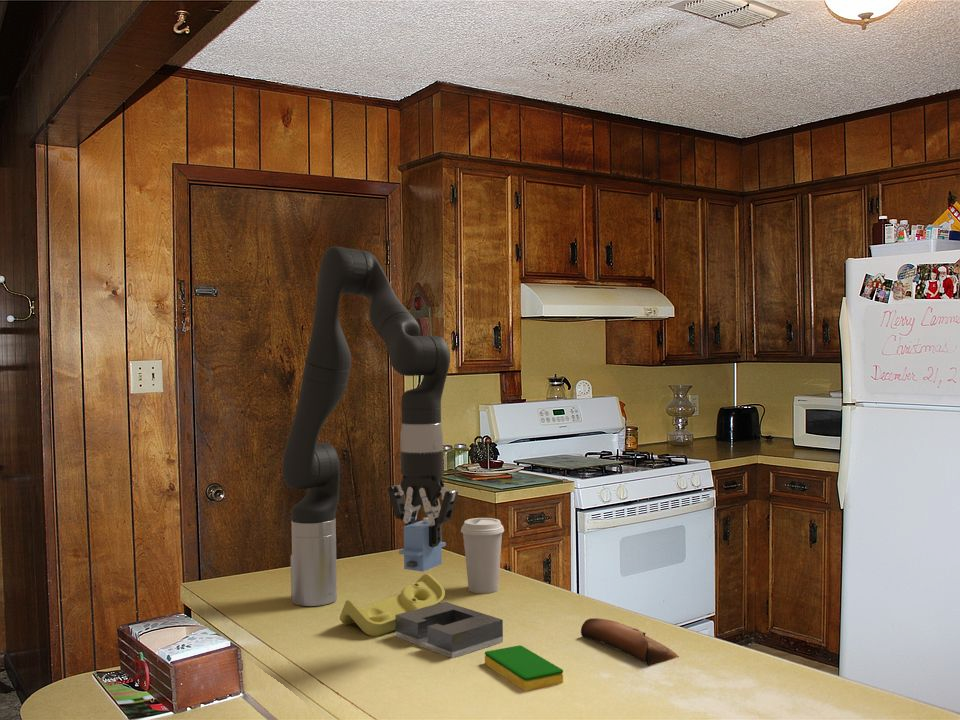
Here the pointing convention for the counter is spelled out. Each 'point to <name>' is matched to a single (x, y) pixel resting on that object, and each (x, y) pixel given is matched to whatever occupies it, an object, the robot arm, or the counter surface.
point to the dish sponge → (523, 667)
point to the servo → (420, 548)
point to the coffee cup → (482, 553)
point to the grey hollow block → (449, 629)
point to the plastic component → (393, 606)
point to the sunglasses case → (627, 640)
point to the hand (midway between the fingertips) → (423, 544)
